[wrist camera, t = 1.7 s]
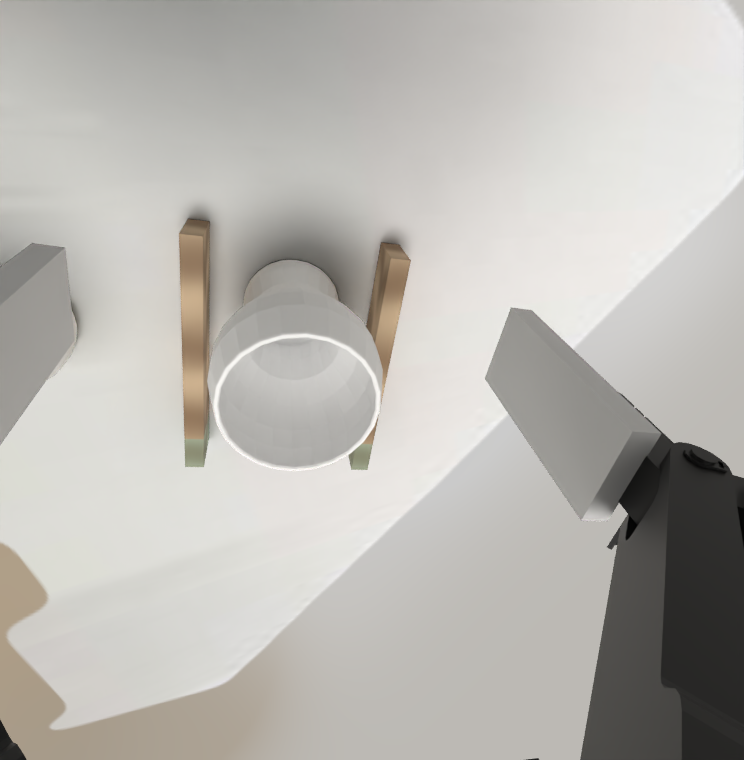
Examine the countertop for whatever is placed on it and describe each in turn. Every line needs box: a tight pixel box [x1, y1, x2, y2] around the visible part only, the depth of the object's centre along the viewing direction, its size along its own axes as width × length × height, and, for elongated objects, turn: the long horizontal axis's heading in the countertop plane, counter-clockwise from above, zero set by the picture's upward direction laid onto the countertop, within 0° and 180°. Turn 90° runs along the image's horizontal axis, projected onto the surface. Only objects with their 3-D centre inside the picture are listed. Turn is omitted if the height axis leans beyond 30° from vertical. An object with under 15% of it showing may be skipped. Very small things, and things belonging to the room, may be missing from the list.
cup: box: [207, 260, 383, 471], centre depth 35 cm, size 11×11×15 cm
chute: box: [179, 219, 411, 470], centre depth 41 cm, size 20×16×4 cm
